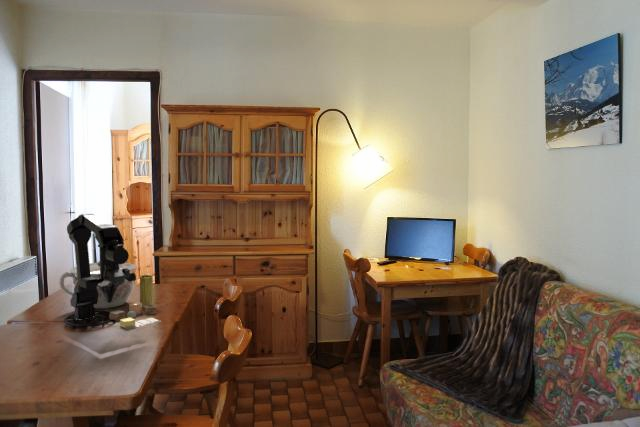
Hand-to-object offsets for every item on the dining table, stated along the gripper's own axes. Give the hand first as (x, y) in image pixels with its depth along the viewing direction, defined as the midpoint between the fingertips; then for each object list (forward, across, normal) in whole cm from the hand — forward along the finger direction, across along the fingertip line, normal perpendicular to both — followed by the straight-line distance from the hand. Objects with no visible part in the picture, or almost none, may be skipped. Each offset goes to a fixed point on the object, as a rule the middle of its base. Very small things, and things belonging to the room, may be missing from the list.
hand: (109, 302), depth 182 cm
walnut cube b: (+12, +22, +10) cm, 27 cm away
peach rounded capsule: (+12, +18, +14) cm, 26 cm away
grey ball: (+12, +14, +10) cm, 21 cm away
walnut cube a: (+12, +9, +12) cm, 19 cm away
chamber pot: (+12, +17, +39) cm, 44 cm away
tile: (+10, +7, 0) cm, 12 cm away
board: (+12, +12, 0) cm, 17 cm away
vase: (+12, +27, +21) cm, 36 cm away
